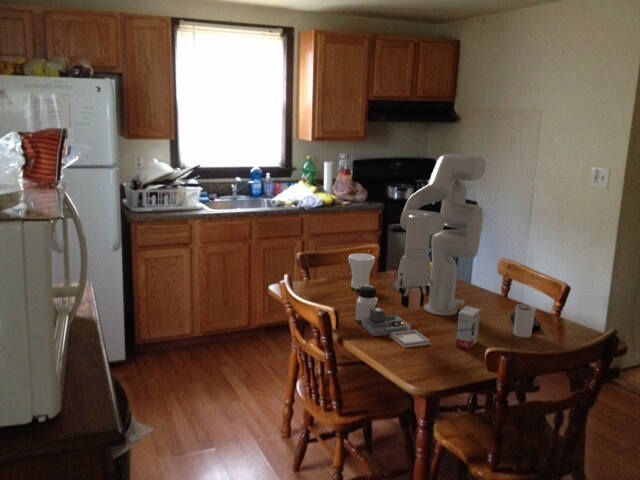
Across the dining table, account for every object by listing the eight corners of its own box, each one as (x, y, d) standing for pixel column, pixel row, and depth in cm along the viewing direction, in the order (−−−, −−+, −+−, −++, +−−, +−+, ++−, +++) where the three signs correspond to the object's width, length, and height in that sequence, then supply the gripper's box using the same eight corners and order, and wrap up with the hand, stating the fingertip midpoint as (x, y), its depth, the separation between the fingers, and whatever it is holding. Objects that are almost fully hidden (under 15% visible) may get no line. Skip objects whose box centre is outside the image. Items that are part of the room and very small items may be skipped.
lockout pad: (414, 333, 200) (415, 329, 200) (429, 344, 191) (429, 340, 191) (390, 336, 197) (390, 332, 196) (404, 347, 188) (404, 343, 188)
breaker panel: (396, 321, 210) (397, 312, 210) (410, 332, 201) (411, 322, 201) (361, 325, 205) (362, 315, 204) (374, 336, 196) (374, 326, 195)
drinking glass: (522, 339, 199) (525, 311, 197) (508, 332, 205) (511, 305, 203) (536, 336, 202) (540, 309, 200) (522, 329, 208) (525, 303, 206)
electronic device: (542, 336, 207) (533, 316, 220) (542, 323, 205) (533, 303, 219) (515, 337, 208) (508, 317, 222) (515, 324, 206) (508, 304, 220)
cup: (348, 283, 254) (349, 252, 251) (373, 285, 252) (375, 254, 249) (345, 291, 243) (347, 259, 240) (372, 293, 241) (374, 261, 238)
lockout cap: (414, 305, 194) (416, 284, 193) (422, 309, 190) (424, 289, 188) (401, 306, 193) (403, 285, 191) (409, 311, 188) (410, 290, 187)
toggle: (379, 320, 204) (380, 307, 203) (384, 323, 201) (385, 310, 199) (369, 321, 202) (370, 308, 201) (374, 324, 199) (375, 311, 198)
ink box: (469, 350, 188) (472, 315, 186) (454, 346, 191) (458, 312, 188) (477, 341, 195) (480, 308, 193) (463, 338, 198) (466, 305, 195)
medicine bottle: (374, 322, 209) (376, 290, 206) (355, 320, 210) (356, 289, 208) (376, 316, 216) (378, 285, 213) (357, 314, 217) (359, 283, 214)
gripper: (432, 248, 194) (428, 300, 198) (387, 250, 187) (383, 304, 191) (445, 253, 187) (440, 307, 191) (398, 256, 181) (394, 311, 185)
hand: (412, 305), depth 191 cm, fingers closed on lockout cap, 5 cm apart
